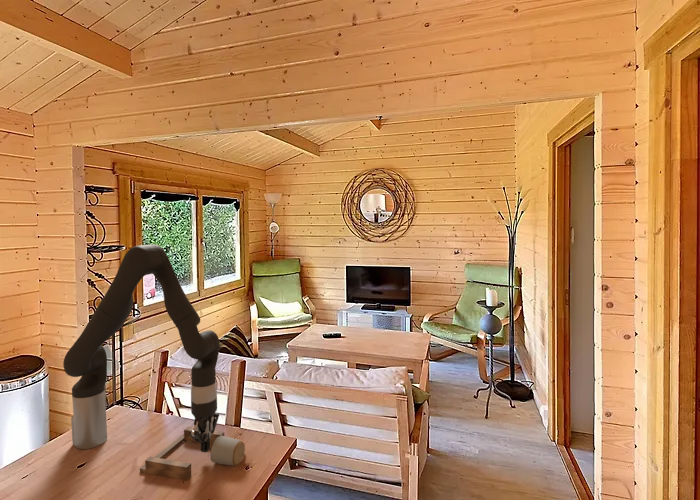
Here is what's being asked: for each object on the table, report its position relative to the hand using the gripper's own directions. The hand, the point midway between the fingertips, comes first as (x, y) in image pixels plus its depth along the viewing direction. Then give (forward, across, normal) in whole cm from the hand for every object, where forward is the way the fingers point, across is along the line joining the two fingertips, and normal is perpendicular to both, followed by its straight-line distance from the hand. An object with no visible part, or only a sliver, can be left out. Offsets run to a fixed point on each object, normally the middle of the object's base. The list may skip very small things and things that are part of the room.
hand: (205, 450), depth 128 cm
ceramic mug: (+3, -2, +7) cm, 8 cm away
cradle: (+3, 0, -6) cm, 7 cm away
